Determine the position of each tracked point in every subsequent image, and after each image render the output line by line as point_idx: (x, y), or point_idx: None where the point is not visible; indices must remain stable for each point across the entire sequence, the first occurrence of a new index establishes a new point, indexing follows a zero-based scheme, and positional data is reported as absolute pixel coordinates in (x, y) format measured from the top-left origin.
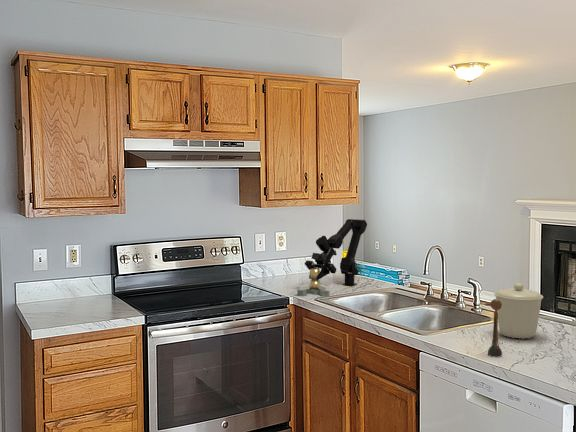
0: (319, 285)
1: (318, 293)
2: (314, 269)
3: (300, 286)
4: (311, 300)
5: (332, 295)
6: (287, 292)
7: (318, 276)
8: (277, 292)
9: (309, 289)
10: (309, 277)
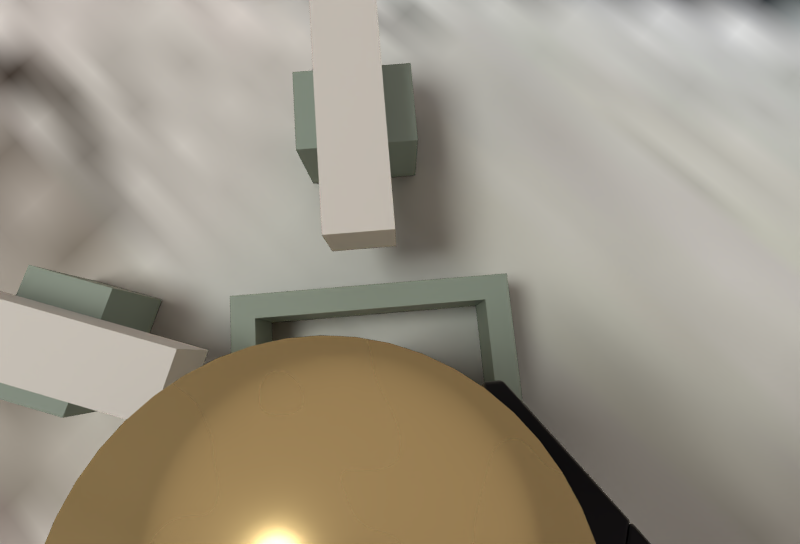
0: (140, 338)
1: None
2: (175, 420)
3: (318, 9)
4: (58, 20)
5: (41, 451)
6: (631, 133)
7: None
8: (711, 43)
9: None
10: (491, 385)
